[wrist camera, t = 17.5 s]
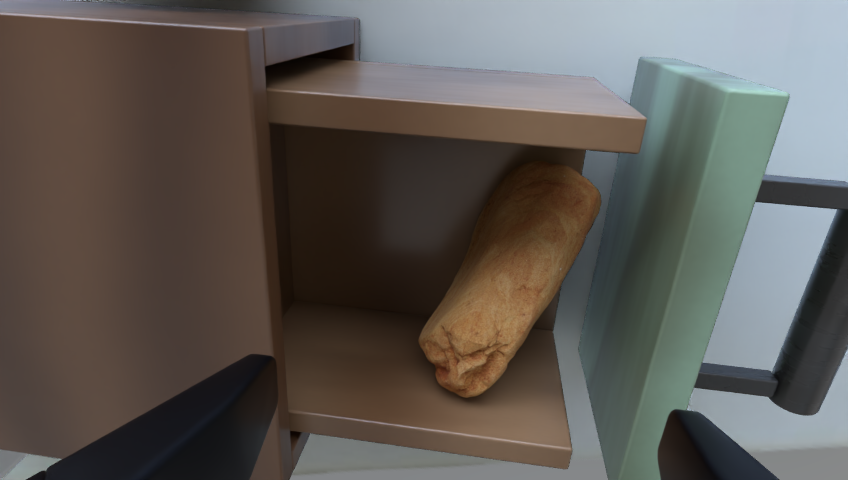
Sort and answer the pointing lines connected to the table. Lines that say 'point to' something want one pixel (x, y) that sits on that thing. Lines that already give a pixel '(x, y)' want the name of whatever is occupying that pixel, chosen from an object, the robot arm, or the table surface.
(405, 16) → the table surface
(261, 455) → the cabinet
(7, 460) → the medicine bottle
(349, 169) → the drawer
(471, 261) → the tan elongated piece
